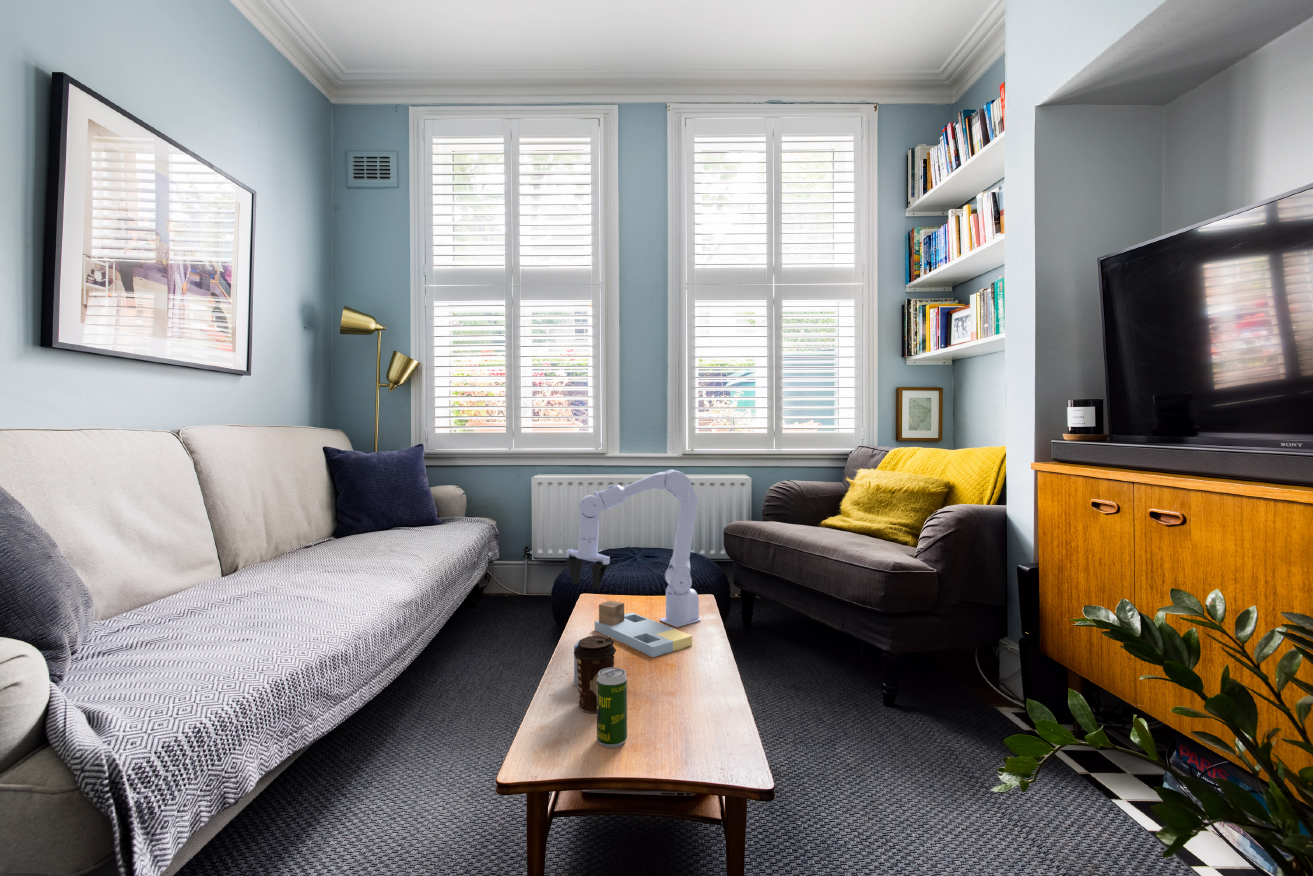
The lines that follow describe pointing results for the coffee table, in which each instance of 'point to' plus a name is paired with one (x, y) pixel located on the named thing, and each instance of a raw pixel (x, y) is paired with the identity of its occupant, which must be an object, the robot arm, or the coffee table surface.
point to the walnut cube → (611, 612)
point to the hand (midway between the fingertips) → (585, 585)
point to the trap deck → (646, 635)
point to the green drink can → (611, 707)
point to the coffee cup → (592, 667)
